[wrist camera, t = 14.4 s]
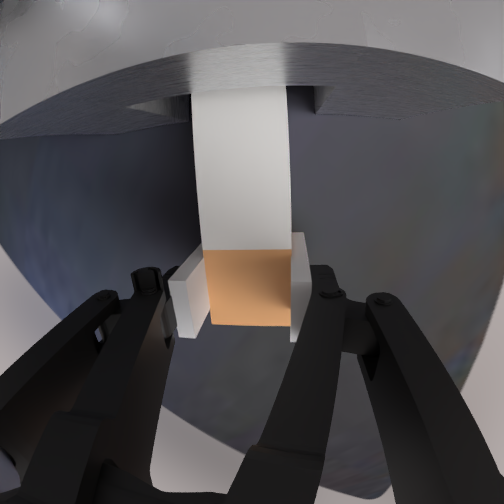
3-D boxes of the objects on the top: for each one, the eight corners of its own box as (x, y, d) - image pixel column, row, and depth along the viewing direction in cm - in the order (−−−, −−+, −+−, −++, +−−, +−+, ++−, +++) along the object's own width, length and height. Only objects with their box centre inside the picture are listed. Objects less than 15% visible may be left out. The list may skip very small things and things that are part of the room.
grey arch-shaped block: (399, 119, 14) (535, 97, 4) (117, 134, 17) (-29, 143, 6) (389, 34, 12) (480, -57, 2) (117, 55, 15) (-11, 14, 4)
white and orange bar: (291, 282, 19) (290, 326, 14) (230, 282, 19) (211, 323, 14) (271, -50, 11) (265, -92, 6) (214, -44, 11) (195, -83, 7)
